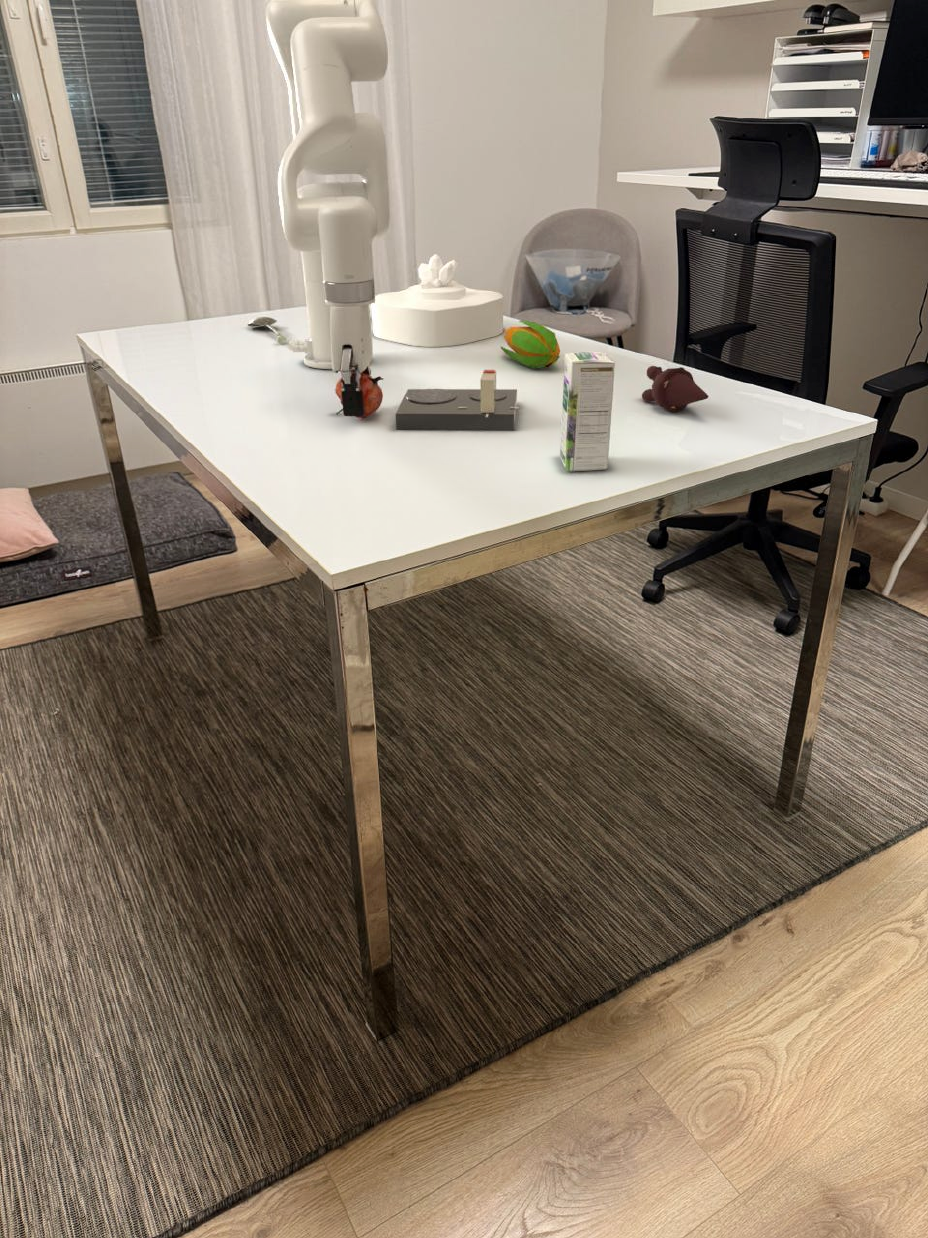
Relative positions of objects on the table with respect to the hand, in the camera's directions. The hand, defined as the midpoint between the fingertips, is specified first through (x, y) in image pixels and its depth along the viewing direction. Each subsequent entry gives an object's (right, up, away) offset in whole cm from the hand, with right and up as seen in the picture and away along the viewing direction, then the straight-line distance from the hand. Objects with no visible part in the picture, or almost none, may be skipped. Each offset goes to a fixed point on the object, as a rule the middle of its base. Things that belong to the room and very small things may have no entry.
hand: (358, 407), depth 147 cm
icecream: (+50, -1, 0) cm, 50 cm away
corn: (+29, +15, +30) cm, 44 cm away
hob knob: (+21, -1, -6) cm, 21 cm away
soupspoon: (-26, +29, +56) cm, 68 cm away
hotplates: (+16, +2, 0) cm, 16 cm away
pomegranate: (0, -1, +1) cm, 2 cm away
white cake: (+11, +29, +55) cm, 63 cm away
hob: (+16, -2, -1) cm, 16 cm away
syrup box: (+33, -13, -21) cm, 41 cm away
